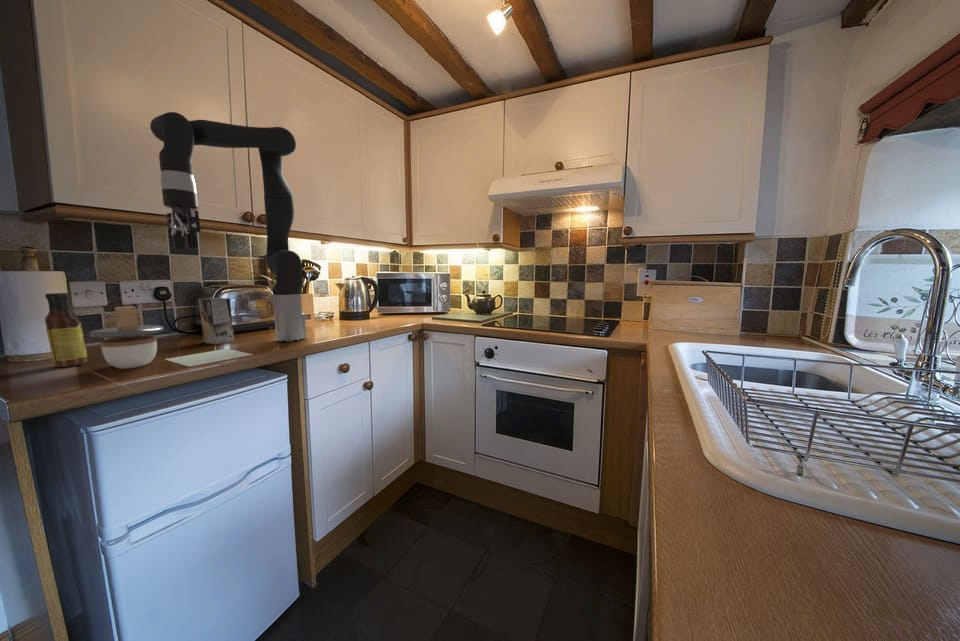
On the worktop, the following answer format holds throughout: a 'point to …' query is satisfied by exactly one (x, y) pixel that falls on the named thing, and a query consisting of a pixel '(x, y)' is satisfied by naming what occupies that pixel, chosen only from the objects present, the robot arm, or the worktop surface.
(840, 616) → the worktop surface
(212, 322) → the coffee box
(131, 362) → the lidded jar
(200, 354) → the mat
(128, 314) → the lid
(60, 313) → the sauce bottle
